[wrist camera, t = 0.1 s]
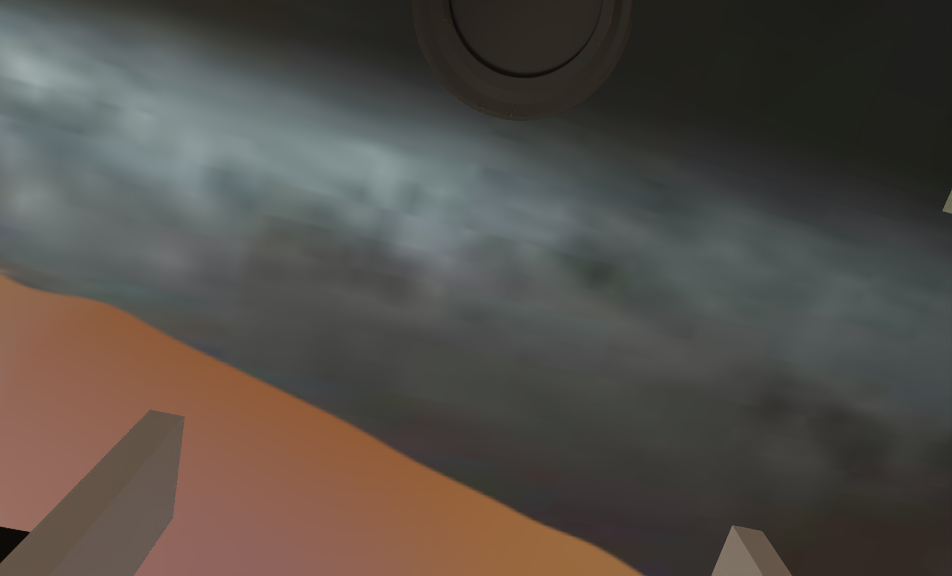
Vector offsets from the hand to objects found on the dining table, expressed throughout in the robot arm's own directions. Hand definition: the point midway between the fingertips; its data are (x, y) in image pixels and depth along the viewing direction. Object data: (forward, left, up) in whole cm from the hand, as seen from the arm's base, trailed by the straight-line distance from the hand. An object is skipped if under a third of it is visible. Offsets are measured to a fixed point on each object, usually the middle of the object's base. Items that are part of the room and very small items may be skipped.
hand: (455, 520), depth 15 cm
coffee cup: (-13, 0, -28) cm, 31 cm away
